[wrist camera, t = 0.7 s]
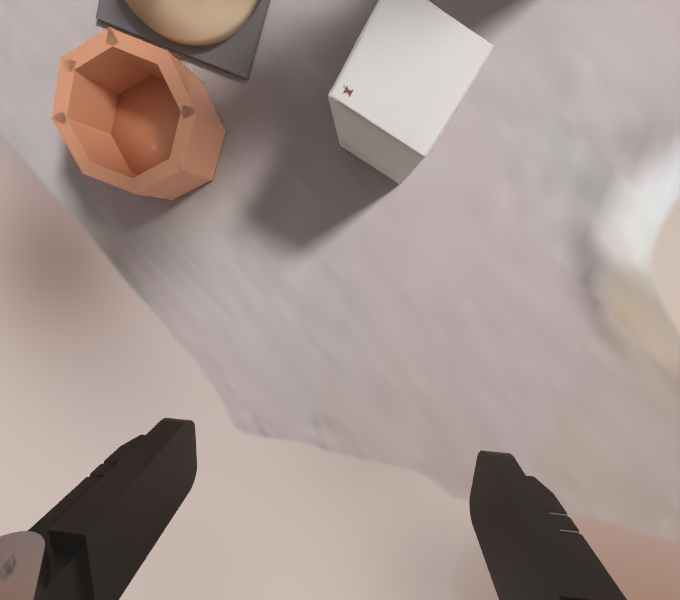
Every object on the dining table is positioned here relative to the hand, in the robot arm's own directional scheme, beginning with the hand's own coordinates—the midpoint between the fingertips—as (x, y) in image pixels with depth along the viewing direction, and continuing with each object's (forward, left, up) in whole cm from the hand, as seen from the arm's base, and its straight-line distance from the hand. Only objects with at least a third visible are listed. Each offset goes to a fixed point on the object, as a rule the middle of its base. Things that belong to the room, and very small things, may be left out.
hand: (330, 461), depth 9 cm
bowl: (-8, -23, -27) cm, 36 cm away
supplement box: (-16, -2, -27) cm, 31 cm away
